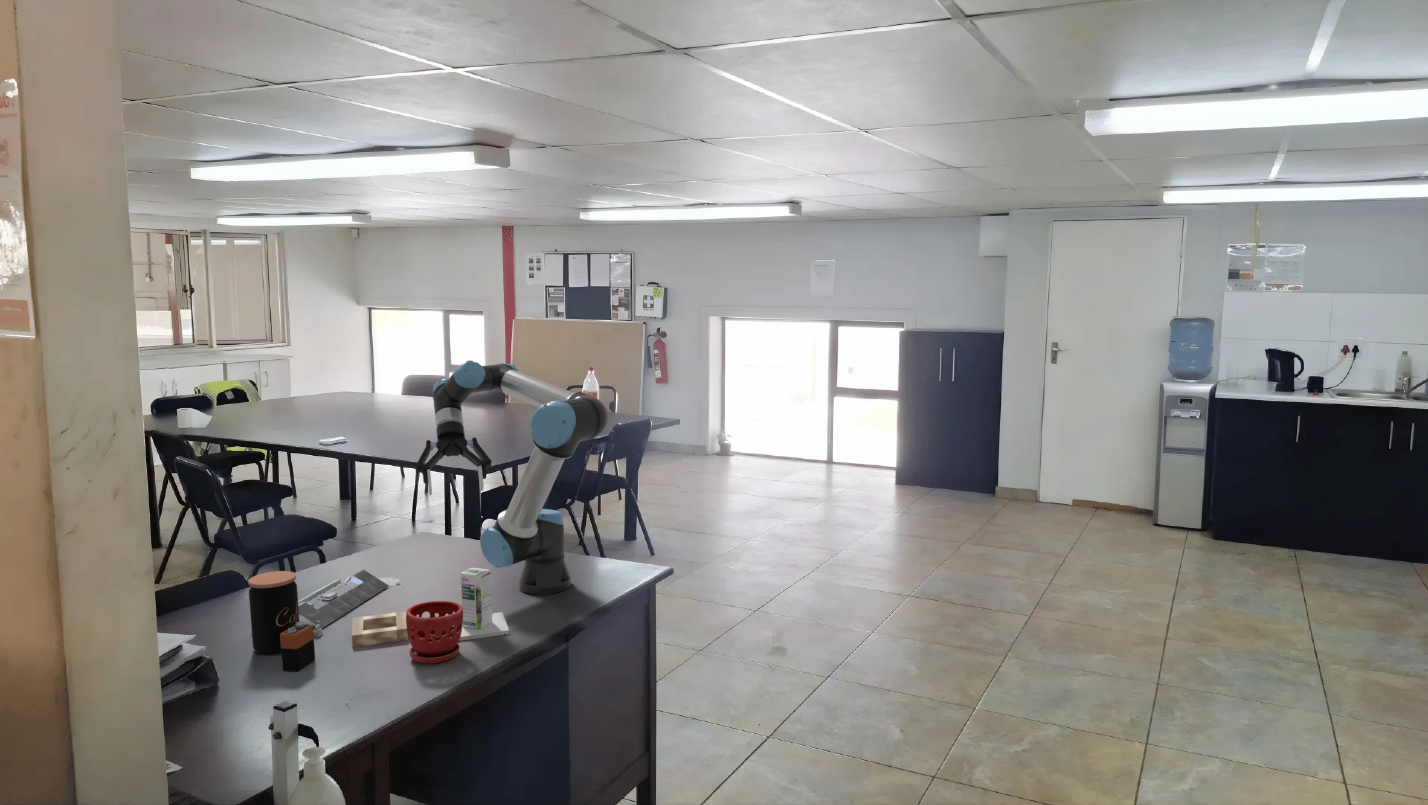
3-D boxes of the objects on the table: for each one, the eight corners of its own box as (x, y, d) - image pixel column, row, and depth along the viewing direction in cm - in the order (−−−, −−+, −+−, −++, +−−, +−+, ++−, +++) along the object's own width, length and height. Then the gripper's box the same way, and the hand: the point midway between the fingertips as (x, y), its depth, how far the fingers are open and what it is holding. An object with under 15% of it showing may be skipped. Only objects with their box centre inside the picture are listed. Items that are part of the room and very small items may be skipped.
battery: (316, 660, 216) (313, 620, 215) (298, 672, 210) (295, 631, 209) (300, 659, 217) (297, 619, 216) (281, 671, 211) (278, 630, 209)
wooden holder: (406, 622, 241) (405, 611, 241) (407, 639, 229) (407, 628, 228) (353, 628, 237) (353, 617, 236) (352, 647, 224) (351, 635, 224)
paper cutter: (252, 635, 234) (250, 615, 233) (348, 580, 277) (347, 562, 277) (316, 639, 231) (314, 618, 230) (403, 583, 275) (402, 565, 274)
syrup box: (461, 627, 234) (459, 572, 232) (475, 619, 240) (473, 566, 238) (480, 630, 232) (477, 575, 230) (493, 622, 238) (491, 568, 236)
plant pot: (434, 671, 210) (431, 622, 208) (396, 660, 217) (393, 611, 215) (476, 652, 221) (474, 605, 219) (439, 641, 228) (436, 595, 226)
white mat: (502, 615, 245) (502, 612, 245) (509, 634, 232) (509, 630, 232) (448, 622, 240) (448, 619, 240) (452, 641, 227) (452, 638, 227)
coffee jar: (282, 658, 218) (276, 585, 216) (243, 654, 220) (237, 583, 218) (310, 641, 229) (305, 572, 226) (272, 638, 231) (267, 569, 228)
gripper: (493, 432, 265) (502, 493, 253) (404, 437, 257) (408, 501, 245) (495, 417, 260) (504, 478, 248) (403, 422, 251) (407, 486, 239)
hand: (456, 490), depth 246 cm, fingers open, 13 cm apart
